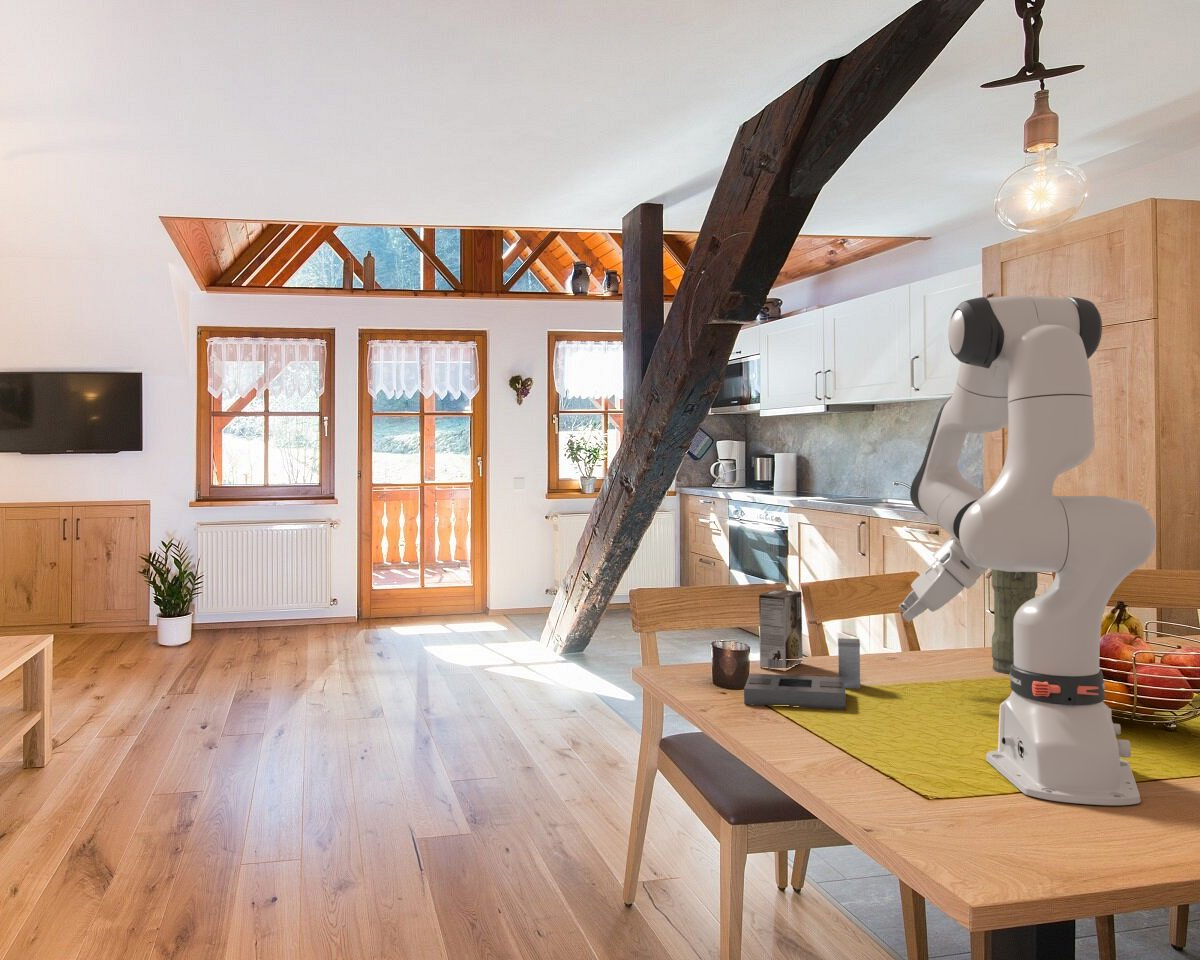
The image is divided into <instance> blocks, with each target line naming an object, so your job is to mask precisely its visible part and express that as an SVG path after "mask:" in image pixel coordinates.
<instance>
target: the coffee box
mask: <svg viewBox="0 0 1200 960" xmlns="http://www.w3.org/2000/svg"><path fill="white" fill-rule="evenodd" d="M758 597H759V598H758V602H759V606H758V607H759V609H758V610H759V666H760V667H768V668H789V667H792V666H793V665H795V664H798V663H801V661H804V658H803V618H802V617H803V616H802V615H803V613H802V611H803V610H802V609H803V608H802V607H803V606H802V605H803V604H802V591H796V590H795V591H793V590H788V589H774V590H770V591H767V592H764V593H761V594H759V595H758ZM799 658H803V660H786V659H799ZM779 659H783V660H779ZM760 667H759V668H760Z"/></svg>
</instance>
